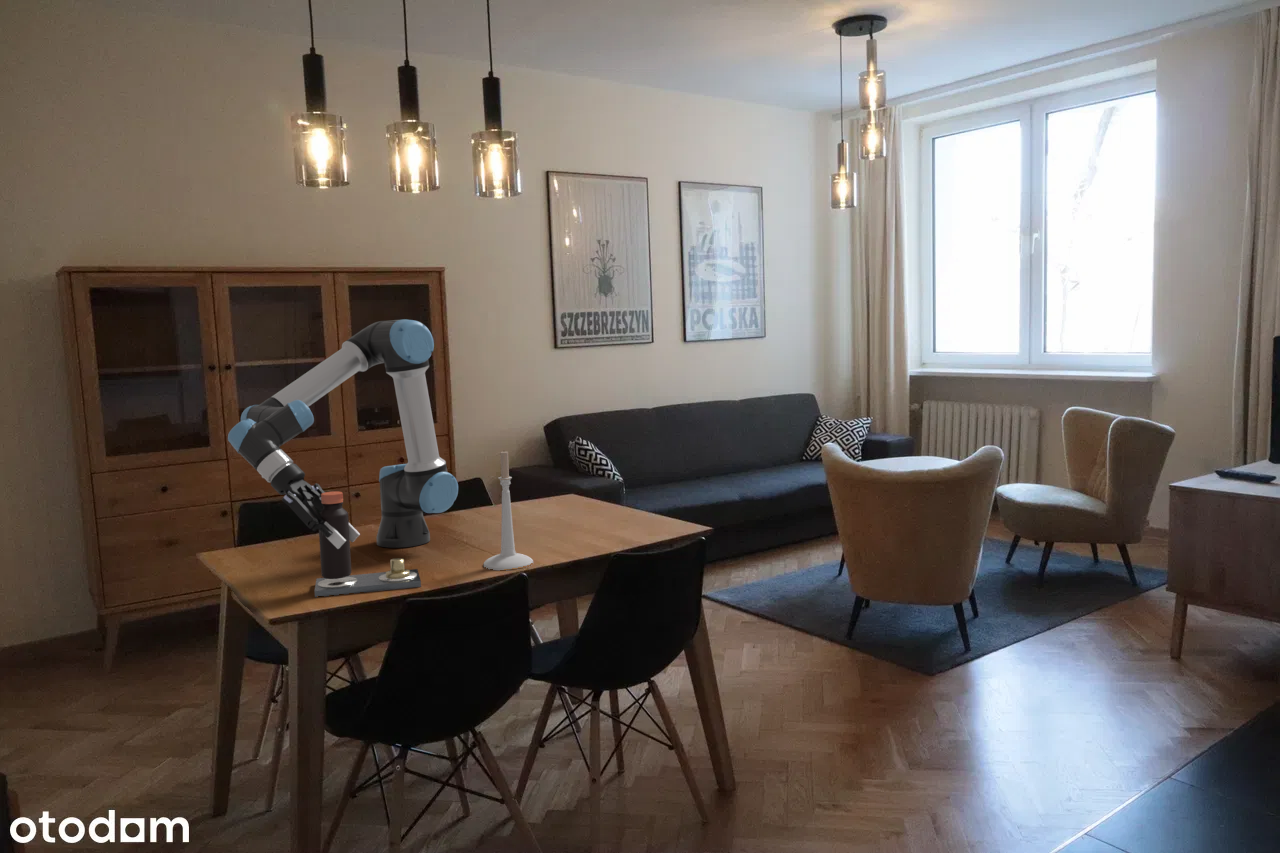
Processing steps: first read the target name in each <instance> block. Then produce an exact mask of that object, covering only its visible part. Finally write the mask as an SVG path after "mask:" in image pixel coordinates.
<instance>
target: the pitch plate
mask: <svg viewBox="0 0 1280 853" xmlns="http://www.w3.org/2000/svg"><path fill="white" fill-rule="evenodd" d="M315 580H316V581H315V584H314V585H315V586H314V598H318V597H317V596H324V597H330V596H329V595H334V596H340V595H339V594H344V595H350V594H349V593H354V594H361V593H360V592H364V593H373V592H382V591H393V590H394V591H395V590H401V589H402V590H403V589H413V588H420V587H422V581H421V577H420V574H419V570H418V568H415V569H414V568H413V569H407V568H405V559H404V558H400V557H397V558H392V559H390V570H388V571H383V572H381V571H380V572H374V573H371V572H370V573H362V574H360V573H359V574H352V575H349V576H347V577H344V578H339V579H325V578H323V577H319V578H316V579H315Z"/></svg>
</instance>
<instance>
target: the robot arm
mask: <svg viewBox="0 0 1280 853" xmlns="http://www.w3.org/2000/svg"><path fill="white" fill-rule="evenodd" d="M434 342H435V340H434V337H433V335H432V333H431V331H430V330H429V328H428V327H427V326H426V325H425V324H424V323H422V322H421V321H418V320H413V319H407V318H406V319H405V318H404V319H394V320H380V321H376V322H373V323H371V324H370V325H367V326H366V327H364V328H363V329H361V330H359V331H358V332H357V333H355V334H354V335H352V336H351V337H349V338H348V339H347V340H345V341H344V342H342V344H341V348H340V349H339V350H338V351H336V352H334V353H333V354H331V355H330V356H329V357H327V358H326V359H324V360H323V361H321V362H320V363H318V364H317V365H316V366H314V367H312V368H311V369H310V370H308V371H307V372H306V373H304V374H302V375H301V376H300V377H298V378H297V379H296V380H295V379H294V381H292V382H291V383H290V384H288V385H286V386H285V387H284V388H282V389H280V390H279V391H278V392H276V393H275V394H273V395H272V396H270V397H269V398H267V399H266V400H264V401H263V402H261V403H260V404H253V405H249V406H247V407H245V409H244V410H243V412H241V416H240V421H239V422H238V423H236V424H235V425H234V426H233V427H232V428H231V429H230V431H229V432H228V434H227V441H228V442H229V443H230V444H231V446H232V447H233V449H234V450H235V451H236V453H237V454H239V455H240V456H241V457H243V459H245V461H247V462H248V464H249V465H251V466H252V468H253V469H255V471H256V472H258V474H259V475H260V476H261V478H262V479H264V480H265V481H266V482H267V483H270V486H271V487H272V488H273V489H274V491H276V492H277V493H278V494H279V495H281V496H282V495H283V497H282V498H281V501H282V503H284V504H286V505H287V506H289V508H290V510H291V511H292V512H293V513H295V515H296V516H297V517H298V518H299V519H300V521H302V522H303V524H305V526H306V527H307V528H308V529H310V530H312V531H313V532H316V531H318V532H319V531H320V532H321V533H322V534H323V535H324V536H325V537H326V538H327V539H328V540H329V541H330V542H331V543H332V544H333V545H334V546H335V547H336V548H337V549H339V548H340V547H341V546H342V545H343V544H344V543H345V542H346V540H345V539H344V538H343V537H342V536H341V534H340V533H339V532H338V531H337V530H336V529H334V528H333V527H332V526H331V525H329V524H328V523H327V522H325V523H324V520H323V519H322V517H321V516H320V514H319V513H320V512H321V511H322V510H323V505H322V503H321V494H322V493H325V491H324V490H323V489H322V486H321V485H320V484H319V483H315V484H314V485H311V484H310V483H309V482H307V481H306V480H305V476H306V473H305V472H304V470H302V468H301V467H299V466H298V465H297V463H294V460H293V459H292V458H291V457H290V456H289V455H288V454H287V453H286V452H285V451H284V450H283V449H282V448H281V447H282V446H283V445H284V444H286V443H287V442H289V441H291V440H292V439H293V438H295V437H296V436H298V435H299V434H301V433H303V432H305V431H306V430H307V429H309V428H310V427H311V426H313V424H314V422H315V418H314V415H313V412H312V411H311V408H310V406H312V405H313V404H314V403H316V402H317V401H319V400H320V399H321V398H323V397H324V396H326V395H327V394H328V393H329V392H331V391H333V390H334V389H335V388H337V387H339V386H340V385H341V384H342V383H344V382H345V381H347V380H348V379H349V378H352V376H354V375H356V374H357V373H358V372H366V371H367V370H369V369H370V368H372V367H374V366H376V365H381V364H384V367H385V374H387V375H389V376H390V377H392V379H393V384H394V390H395V397H396V401H397V407H398V412H399V417H400V424H401V428H402V429H401V430H402V433H403V434H402V436H403V440H404V441H403V442H404V446H405V451H406V457H407V463H403V464H402V463H401V464H393V465H387V466H386V465H385V466H383V467H381V468H380V469H379V475H378V476H379V478H378V482H379V493H380V509H381V512H380V513H381V520H380V523H379V526H378V530H377V534H376V545H377V546H378V547H380V548H381V547H383V548H389V549H390V548H392V549H393V548H397V549H398V548H409V547H416V546H420V545H425V544H427V543H429V542H430V541H431V533H430V531H429V527H428V525H427V522H426V520H425V516H424V513H427V514H440V513H444V512H446V511H447V510H449V509H450V508H451V507H452V506H453V505H454V502H455V501H456V500H457V497H458V494H459V484H458V481H457V478H456V477H455V476H454V475H453V474H452V473H450V472H448V468H447V461H446V460H445V459H444V458H442V457H440V454H439V453H440V452H439V448H438V440H437V436H436V429H435V422H434V419H433V413H432V408H431V407H432V405H431V401H430V396H429V389H428V384H427V378H426V371H427V370H428V369H429V368H430V363H429V359H430V357H431V356H432V353H433V352H434V347H435V343H434ZM423 512H424V513H423ZM359 536H361V533H360V532H359V531H358V530H357V529H356V528H355V527H354V526H353V525H352V524H351V523H350V522H349V539H350V543H353V542H355V541H356V540H357V539H358V538H359Z"/></svg>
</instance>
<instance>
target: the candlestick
mask: <svg viewBox="0 0 1280 853" xmlns="http://www.w3.org/2000/svg"><path fill="white" fill-rule="evenodd" d="M499 453H500V457H499V458H500V477H497V478H498V480H499V481H500V486H501V488H502V491H501V528H500V529H501V535H500V536H501V541H500V542H501V543H500V545H501V546H500V553H499V554H495V555H493V556H491V557H489V558H487V559H485V561H484V562H483V567H484V568H485V567H486V568H485V569H487V568H488V569H487V570H490V569H493V570H492V571H500V570H504V569H512V568H518V567H523V566H527V565H530V564H531V563H533V564H534V560H533V559H532V558H531V557H530V556H528V555H526V554H523V553H518V552H517V551H516V549H515V547H516V546H515V538H514V537H515V536H514V529H513V528H514V526H513V516H512V515H513V514H512V504H511V493H510V485H511V480H512V479H513V477H512V476H510V471H509V470H510V469H509V465H510V464H509V451H501V452H499Z"/></svg>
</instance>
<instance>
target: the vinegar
mask: <svg viewBox="0 0 1280 853" xmlns="http://www.w3.org/2000/svg"><path fill="white" fill-rule="evenodd" d="M324 492H325V491H324ZM321 503H322V505H323V510H322V511H319V512H318V513H319V514H320V516H321V517H322V519H323V520H324V523H325V522H327V523H328V524H329V525H331V526H332V527H333V528H334V529H336V530H337V531H338V532H339V533H340V534H341V536H342V537H343V538H344V539H345V540H346V542H345V543H344V544H343V545H342V546H341V547H340V548H339V549H337V548H336V547H335V546H334V545H333V544H332V543H331V542H330V541H329V540H328V539H327V538H326V537H325V536H324V535H323V534H322V533H321V532H320V531H319V530H318V535H319V553H320V568H321V569H320V571H321V574H320V575H321V578H325V579H339V578H344V577H347V576H349V575H351V574H352V559H351V541H350V539H349V523H350V522H349V513H348V511H347V510H346V509H345V508H343V504H344V492H342V491H338V490H337V491H335V490H334V491H327V492H325V493H322V494H321Z"/></svg>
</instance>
